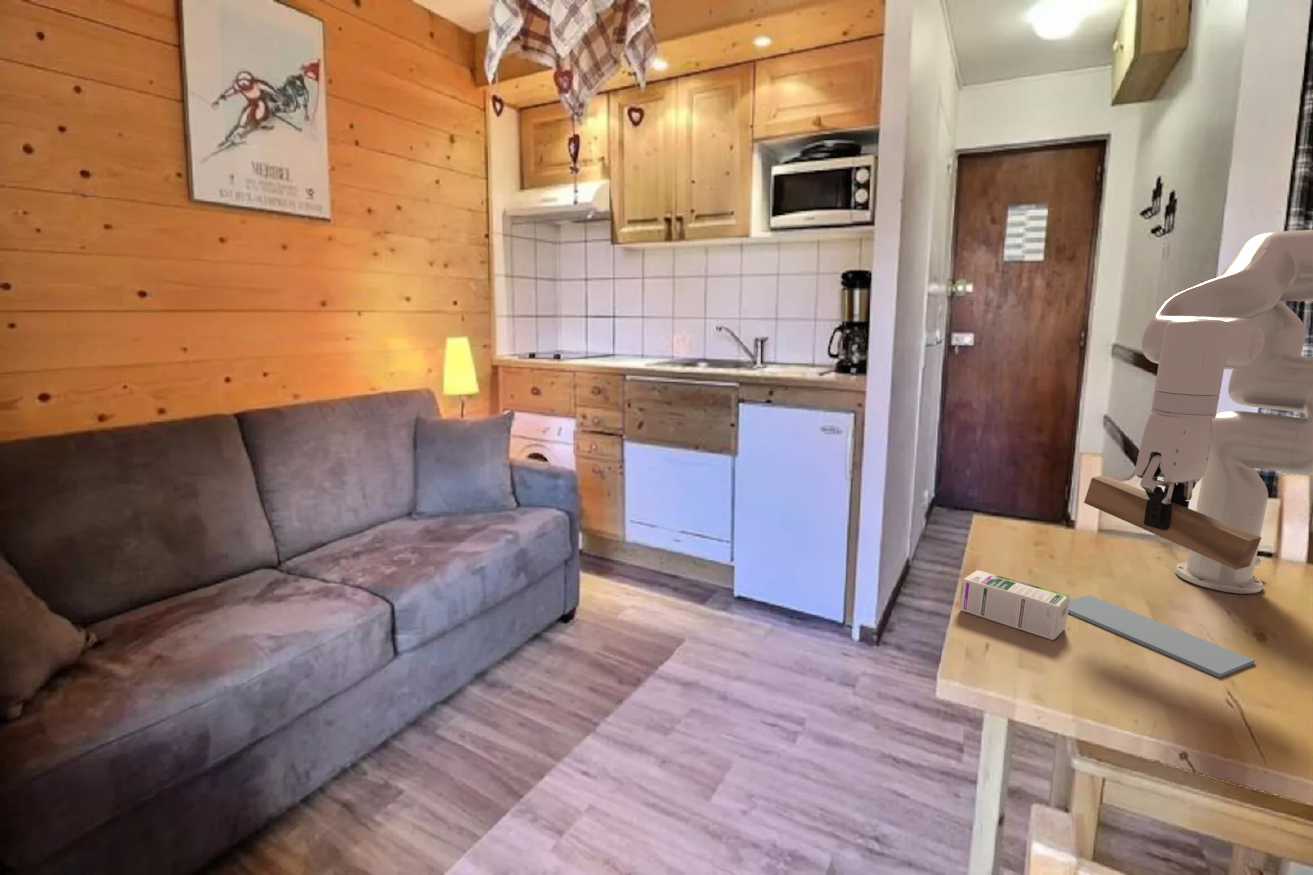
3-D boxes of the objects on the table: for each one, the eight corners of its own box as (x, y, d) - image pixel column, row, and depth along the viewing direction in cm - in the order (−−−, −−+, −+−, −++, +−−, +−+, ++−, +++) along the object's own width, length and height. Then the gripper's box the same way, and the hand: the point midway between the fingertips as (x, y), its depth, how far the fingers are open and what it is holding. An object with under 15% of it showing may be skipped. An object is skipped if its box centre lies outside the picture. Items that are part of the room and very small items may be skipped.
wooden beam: (1097, 500, 114) (1105, 475, 112) (1249, 566, 95) (1261, 537, 94) (1083, 502, 112) (1091, 477, 111) (1236, 569, 94) (1248, 540, 92)
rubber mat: (1088, 597, 119) (1089, 594, 119) (1254, 663, 98) (1255, 659, 98) (1054, 607, 115) (1055, 603, 115) (1219, 677, 94) (1220, 673, 94)
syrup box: (1059, 606, 103) (962, 576, 113) (1054, 642, 104) (958, 609, 114) (1071, 595, 106) (976, 567, 117) (1065, 630, 108) (972, 599, 118)
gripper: (1188, 398, 106) (1169, 512, 110) (1122, 404, 99) (1104, 525, 103) (1245, 405, 100) (1223, 526, 103) (1179, 412, 93) (1158, 541, 96)
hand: (1164, 524), depth 103 cm, fingers closed on wooden beam, 3 cm apart
